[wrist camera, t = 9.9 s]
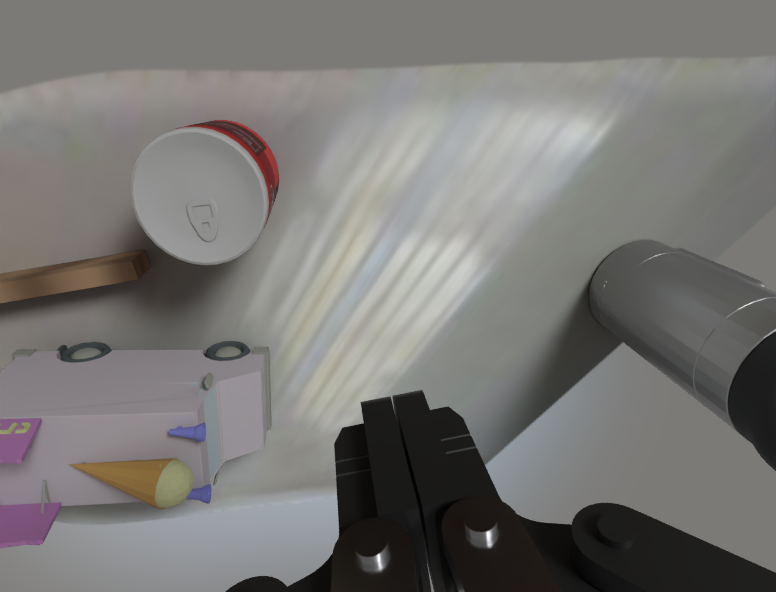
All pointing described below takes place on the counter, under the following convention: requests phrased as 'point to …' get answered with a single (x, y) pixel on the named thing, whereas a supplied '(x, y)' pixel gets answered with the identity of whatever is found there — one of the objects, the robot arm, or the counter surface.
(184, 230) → the canned food
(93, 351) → the toy vehicle
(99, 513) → the counter surface
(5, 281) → the wooden rails pair
